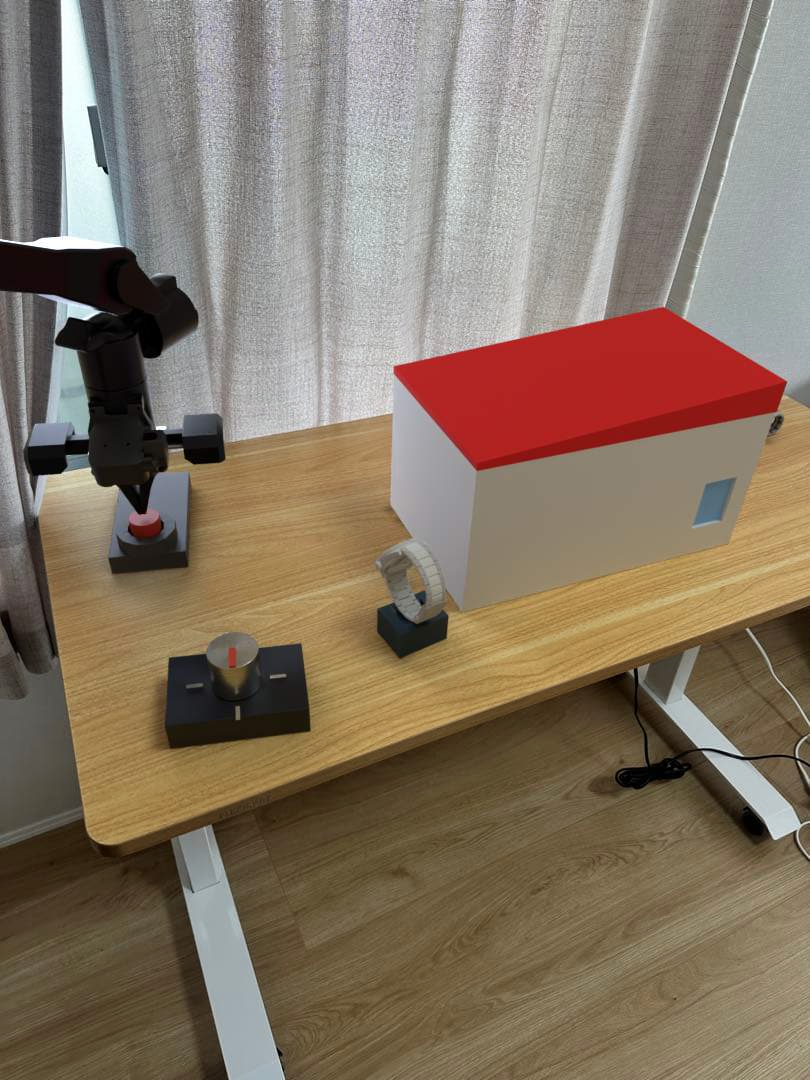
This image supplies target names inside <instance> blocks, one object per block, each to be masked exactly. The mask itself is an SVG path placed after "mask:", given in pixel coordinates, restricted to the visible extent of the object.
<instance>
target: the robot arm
mask: <svg viewBox="0 0 810 1080" xmlns="http://www.w3.org/2000/svg"><path fill="white" fill-rule="evenodd" d="M0 292H6V293H20V294H33V295H37V296H39V297H41V298H44V299H48V300H52V301H54V302H57V303H61V304H64V305H69V306H73V307H79V308H82V309H86V310H87V309H88V310H93V311H97V312H94V313H92V314H89V315H88V316H85V317H84V318H79V317H75V316H73V317H72V316H69V317H67V318H66V321H65V324H64V326H63V327H62V328H61V329H60V330H59V331H58V333H57V334H56V336H55V339H54V345H55V346H56V347H59V348H65V349H69V350H72V351H76V355H77V359H78V364H79V369H80V372H81V377H82V381H83V385H84V389H85V394H86V399H87V407H88V415H89V421H88V426H87V427H88V428H87V433H85V434H77V433H76V428H75V425H74V424H73V423H72V422H71V421H63V422H62V421H61V422H47V423H46V422H45V423H35V424H34V425H33V426H32V427H31V429H30V430H29V433H28V436H27V439H26V441H25V445H24V448H23V450H22V456H23V462H24V466H25V469H26V473H27V474H28V475H30V476H32V477H38V476H39V477H40V476H55V475H62V474H63V473H64V471H66V469H67V468H68V467H69V459H68V457H69V456H81V455H82V456H84V455H87V457H88V458H87V460H88V463H89V466H90V469H91V470H90V473H91V475H92V476H93V477H94V480H95V483H96V485H98V487H99V486H100V487H101V488H112V487H114V486H116V487H117V488H118V490H119V489H120V490H121V491H122V493H123V494H124V495H125V497H126V498H127V500H128V501H129V502H130V504H131V505H132V507H133V508H134V509H135V511H136V512H137V514H138V515H142V514H146V513H147V508H148V502H149V497H150V491H151V487H152V484H153V481H154V478H155V476H156V475H157V474H158V473H166V472H167V471H168V470H169V467H170V466H169V465H170V454H171V453H170V451H171V450H179V449H180V450H183V457H184V460H185V461H187V462H189V463H190V464H192V465H194V466H195V465H196V466H197V465H211V464H221V463H223V462H225V461H226V460H227V457H226V455H227V453H226V430H225V422H224V418H223V416H221V415H220V414H219V413H217V412H214V413H212V412H211V413H195V414H194V413H193V414H183V416H182V428H167V426H164V425H160V426H157V424H156V419H155V413H154V407H153V402H152V396H151V391H150V385H149V384H150V383H149V380H148V374H147V369H146V363H145V362H146V361H145V359H147V360H150V359H151V360H153V359H156V358H159V357H161V356H162V355H165V353H167V352H168V351H170V350H171V349H173V348H175V347H176V346H178V345H180V344H181V343H182V342H184V341H185V340H187V339H188V338H190V337H192V336H193V335H194V334H195V333H196V332H197V330H198V328H199V323H200V322H199V321H200V319H199V318H200V317H199V312H198V310H197V308H196V307H195V305H194V303H193V301H192V299H191V298H190V297H189V295H187V293H186V292H185V291H184V290H182V289H181V288H179V287H178V282H177V277H176V275H172V274H166V273H161V272H157V273H156V274H154V275H152V276H151V277H149V276H148V275H147V274H146V272H145V271H144V270H143V269H142V268H141V266H140V265H139V262H138V260H137V254H136V253H135V252H134V251H133V249H131V248H129V247H126V246H124V245H123V246H122V245H117V244H112V243H106V242H101V241H95V240H90V239H85V238H79V237H74V236H56V237H41V238H39V239H37V240H35V241H29V242H19V241H13V240H7V239H0ZM138 485H139V486H138Z"/></svg>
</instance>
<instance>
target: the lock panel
mask: <svg viewBox="0 0 810 1080" xmlns="http://www.w3.org/2000/svg"><path fill="white" fill-rule="evenodd" d="M259 654H260V663H261V673H262V684H261V686H260V688H259V689H258V691H257V692H256V693H254V694H253V695H252V696H250V697H248V698H245V699H242V700H237V701H230V700H225V699H222V698H220V697H218V696H217V695H216V694H215V693H214V691H213V690H212V686H211V681H210V674H209V668H208V662H207V656H206V653H198V654H197V653H196V654H187V655H179V656H170V657H168V665H167V682H166V699H165V717H164V719H165V720H164V729H165V733H166V738H167V742H168V747H169V749H170V750H173V749H179V748H188V747H195V746H202V745H212V744H217V743H219V744H220V743H226V742H235V741H243V740H251V739H258V738H259V739H260V738H264V737H265V738H266V737H274V736H282V735H289V734H297V733H305V732H311V730H312V729H311V727H312V726H311V712H310V701H309V693H308V686H307V678H306V670H305V662H304V661H305V660H304V652H303V644H302V643H300V642H299V643H290V644H282V645H271V646H262V647H259Z"/></svg>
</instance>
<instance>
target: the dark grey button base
mask: <svg viewBox="0 0 810 1080" xmlns="http://www.w3.org/2000/svg"><path fill="white" fill-rule="evenodd" d="M191 480H192V479H191V475H190V471H189V470H188V471H187V470H186V471H175V472H174V471H173V472H161V473H157V475H156V476H155V478H154V481H153V484H152V487H151V491H150V497H149V502H148V508H147V509H154V510H156V511H157V512H158V513H159V515H160V520H161V526H162V530H161V532H160V533H159V534H157V535H154V536H152V537H147V538H138V537H134V536H133V535H132V533H131V529H130V525H129V520H128V519H129V516H130V515H131V514H132V513H133V512H135V509H134V508H133V507H132V505H131V504H130V502H129V501H128V500H127V498H126V497H125V495H124V494H123V493H122V491H121V490H120V489H119V488H118V495H117V501H116V508H115V514H114V519H113V527H112V532H111V539H110V545H109V549H108V550H109V551H108V557H107V558H108V563H109V567H110V570H111V574H112V575H113V574H123V573H134V572H135V573H136V572H145V571H157V570H168V569H169V570H170V569H178V568H188V567H189V564H190V563H189V562H190V533H191V532H190V531H191V509H192V508H191V507H192V481H191ZM138 486H139V485H138Z"/></svg>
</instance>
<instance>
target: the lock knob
mask: <svg viewBox="0 0 810 1080" xmlns="http://www.w3.org/2000/svg"><path fill="white" fill-rule="evenodd" d="M259 648H260V646H259V643H258V640H256V638H255V637H253V635H251V634H249V633H246V632H243V631H229V632H224V633H222V634H219V635H218V636H216V637H215V638H213V639H212V640H211V641H210V642H209V643H208V645H207V647H206V650H205V654H206V656H207V662H208V668H209V674H210V681H211V686H212V690H213V691H214V693H215V694H216V695H217V696H218V697H220V698H222V699H225V700H230V701H237V700H242V699H245V698H248V697H250V696H252V695H253V694H254V693H256V692H257V691H258V689H259V688H260V686H261V684H262V673H261V663H260V654H259Z"/></svg>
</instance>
